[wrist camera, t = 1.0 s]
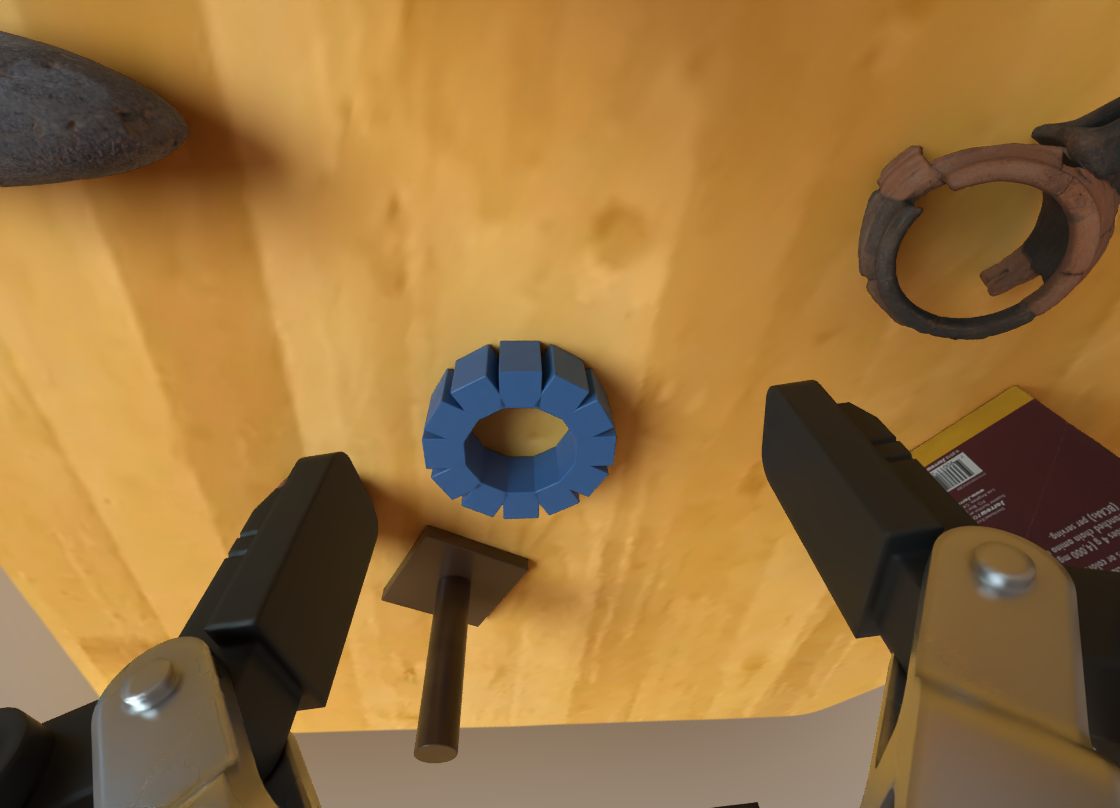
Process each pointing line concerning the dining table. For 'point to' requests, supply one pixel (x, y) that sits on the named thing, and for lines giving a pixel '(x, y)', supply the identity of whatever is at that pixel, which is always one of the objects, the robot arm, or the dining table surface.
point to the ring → (519, 384)
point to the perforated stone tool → (75, 117)
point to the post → (449, 622)
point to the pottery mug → (1051, 249)
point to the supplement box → (1032, 479)
